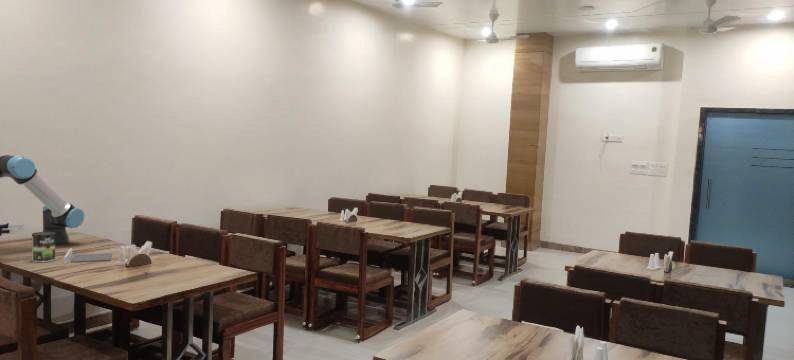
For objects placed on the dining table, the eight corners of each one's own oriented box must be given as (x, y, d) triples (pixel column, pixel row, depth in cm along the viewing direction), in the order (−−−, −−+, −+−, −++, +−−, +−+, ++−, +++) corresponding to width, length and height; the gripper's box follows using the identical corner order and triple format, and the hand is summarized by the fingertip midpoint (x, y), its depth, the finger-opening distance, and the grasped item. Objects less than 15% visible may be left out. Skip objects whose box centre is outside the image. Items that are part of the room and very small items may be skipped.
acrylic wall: (70, 254, 314) (70, 248, 313) (72, 254, 314) (72, 248, 314) (64, 264, 292) (64, 257, 291) (66, 264, 292) (66, 257, 292)
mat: (74, 255, 312) (74, 254, 312) (111, 254, 319) (111, 253, 319) (70, 262, 295) (70, 261, 295) (109, 260, 302) (109, 259, 302)
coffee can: (58, 260, 299) (58, 233, 298) (37, 263, 291) (36, 235, 290) (50, 257, 306) (50, 230, 305) (28, 260, 297) (28, 233, 296)
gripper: (-24, 233, 297) (25, 232, 305) (-38, 241, 274) (15, 240, 282) (-24, 219, 296) (25, 218, 304) (-38, 225, 273) (15, 225, 282)
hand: (20, 229), depth 293 cm, fingers open, 13 cm apart
